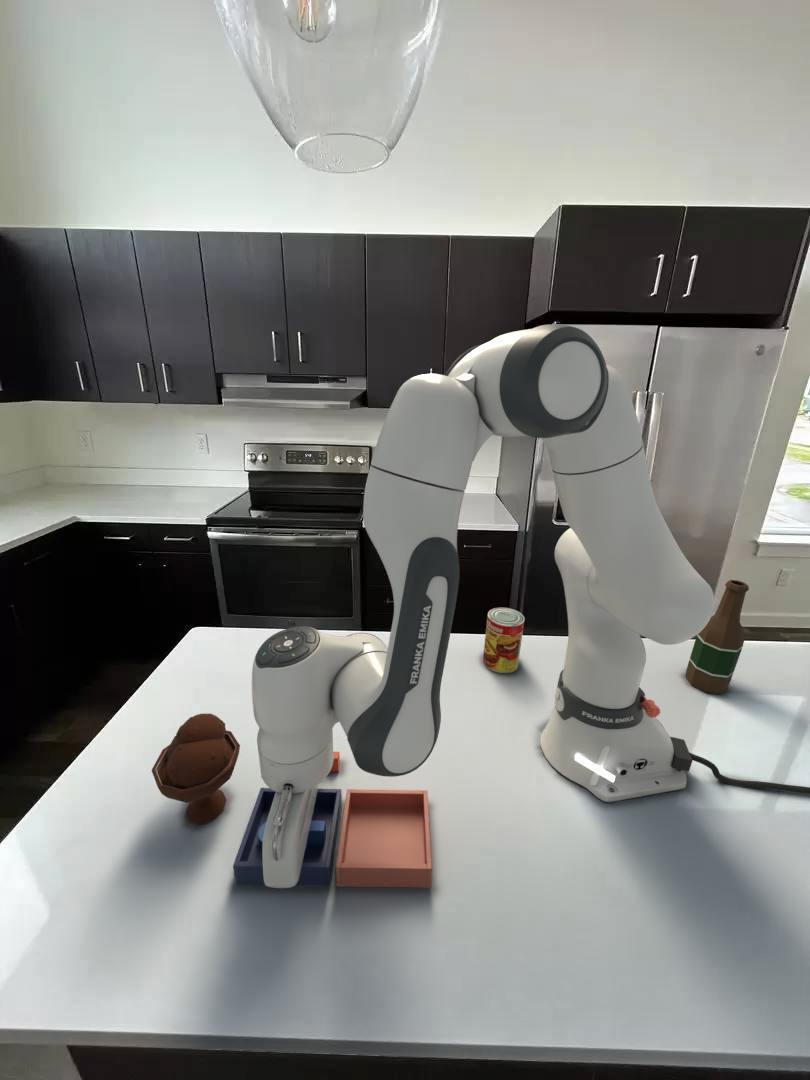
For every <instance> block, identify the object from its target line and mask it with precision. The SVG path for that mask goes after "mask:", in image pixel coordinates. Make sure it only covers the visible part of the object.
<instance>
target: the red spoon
mask: <svg viewBox="0 0 810 1080" xmlns="http://www.w3.org/2000/svg"><path fill="white" fill-rule="evenodd" d="M340 754H341V753H340V751H333V755H334V760H333V765H332V768H331V770H330V772H331V773H332V772H337V773H338V772H340V766H341V759H340Z"/></svg>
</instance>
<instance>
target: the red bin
mask: <svg viewBox="0 0 810 1080" xmlns="http://www.w3.org/2000/svg"><path fill="white" fill-rule="evenodd" d="M429 812H430V811H429V795H428V790H423V789H422V790H419V789H418V790H417V789H416V790H415V789H412V790H411V789H410V790H409V789H357V788H356V789H355V788H354V789H353V788H351V789H350V788H348V789H346V793H345V800H344V807H343V815H342V822H341V830H340V835H339V836H340V837H339V842H338V843H339V844H338V850H337V857H336V865H335V872H336V873H335V877H336V887H353V888H354V887H355V888H357V887H359V888H427V889H429V888H431V886H432V871H433V866H432V865H433V864H432V846H431V831H430V814H429Z"/></svg>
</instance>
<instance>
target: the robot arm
mask: <svg viewBox="0 0 810 1080" xmlns="http://www.w3.org/2000/svg"><path fill="white" fill-rule="evenodd" d="M492 436H496V437H500V438H501V437H502V438H516V437H530V438H535V439H536V438H537V439H541V441H542V442H543V444H544V446H545V452H546V457H547V460H548V464H549V468H550V471H551V475H552V479H553V482H554V487H555V489H556V493H557V497H558V500H559V505H560V507H561V511H562V515H563V517H564V520H565V521H566V523H567V525H568V526H569V528H568V529H567V530H565V531H564V532H563V533H562V535H561V536H559V539H558V541H557V543H556V545H555V548H554V561H555V564H556V566H557V569H558V571H559V573H560V577H561V579H562V584H563V590H564V597H565V604H566V605H565V606H566V615H567V626H568V627H567V628H568V629H567V630H568V635H567V636H568V637H567V644H566V650H565V658H564V663H563V669H561V671H560V674H559V675H558V676H559V677H558V681H557V686H556V689H555V694H554V707H553V709H552V713H551V716H550V718H549V721H548V722H547V724H546V726H545V727H544V729H543V730H542V732H541V734H540V743H539V744H540V748H541V751H542V754H543V755H544V757H545V758H546V760H547V762H548V763H549V764H550V765H551V767H553V768H554V769H555V770H556V771H557V772H559V774H561V775H563V776H564V777H565V778H567V779H568V780H570V781H572V782H573V783H576V784H578V785H580V786H582V787H584V788H586V790H587V791H589V792H591V793H592V794H593V795H594V796H595V797H596V798H598V799H600V800H601V801H602V802H605V803H612V802H619V801H624V800H629V799H634V798H639V797H646V796H651V795H657V794H662V793H668V792H672V791H673V792H674V791H677V790H683V789H686V786H687V773H686V772H690V770H691V767H692V765H693V762H696V763H699V764H701V765H703V766H705V767H707V768H709V769H710V770H711V772H712V775H713V777H714V778H715V779H716V780H718V781H720V782H722V783H723V784H727V785H731V786H735V787H742V788H750V789H751V788H752V789H765V790H773V791H780V792H781V791H782V792H788V793H791V792H792V793H799V794H807V795H810V787H809V786H801V785H791V784H784V783H778V782H777V783H776V782H768V781H757V780H743V779H742V780H741V779H734V778H731V777H727V776H725V775H723V774H721V773H720V770H719V769H718V767H717V766H716V764H714V763H713V762H712V761H710V760H708V759H707V758H704V757H702V756H699V755H697V754H694V753H692V752H690V751H689V748H688V746H687V743H686V741H685V739H682V738H678V737H674V736H670V735H669V732H668V731H667V730H666V727H665V726H664V725H663V723H662V722H661V721H660V720H659V719H658V718H657V717H658V716H660V714H661V709H660V708H659V706H658V705H657V704H656V703H655V701H654V700H653V699H647V697H646V693H645V692H644V690H643V689H642V688H641V687H640V685H641V681H642V678H643V677H642V676H643V673H644V670H645V666H646V662H647V651H646V646H645V644H644V641H643V638H642V637H644V638H646V639H648V640H650V641H653V642H655V643H656V644H657V643H658V644H659V645H664V646H672V645H679V644H681V643H684V642H686V641H689V640H691V639H693V638H695V637H696V636H697V634H699V633H700V632H701V631H702V630H703V629H704V628H705V626H706V625H707V624H708V622H709V620H710V618H711V617H712V616H713V613H714V609H715V608H714V607H715V594H714V591H713V588H712V587H711V585H710V584H709V583H708V582H707V581H706V580H705V579H704V578H703V577H702V575H700V573H698V571H697V570H696V569H695V568H694V566H692V564H691V563H690V561H689V560H688V559H687V557H686V556H685V554H684V552H682V550H681V548H680V545H678V542H677V541H676V539H675V537H674V536H673V533H672V531H671V529H670V528H669V526H668V524H667V522H666V520H665V518H664V516H663V515H662V513H661V510H660V508H659V506H658V502H657V500H656V497H655V494H654V491H653V487H652V481H651V476H650V471H649V466H648V462H647V457H646V456H647V455H646V451H645V446H644V441H643V436H642V431H641V426H640V423H639V419H638V415H637V412H636V409H635V406H634V403H633V400H632V397H631V395H630V393H629V390H628V387H627V384H626V383H625V380H624V379H623V376H622V375H621V373H620V372H619V371H618V370H617V369H616V368H615V367H613V366H611V365H609V364H607V362H606V360H605V356H604V354H603V353H602V350H601V349H600V347H599V345H598V344H597V342H596V341H595V340H594V338H593V337H591V335H589V334H588V333H587V332H585V330H583V329H581V328H578V327H575V326H572V325H568V324H559V323H558V324H557V323H556V324H555V323H553V324H550V323H549V324H543V325H538V326H536V327H533V328H528V329H521V330H516V331H515V330H514V331H510V332H507V333H504V334H500V335H498V336H496V337H494V338H493V339H491V340H490V341H487V342H485V343H483V344H477V345H475V346H473V347H471V348H469V349H467V350H466V351H464V352H463V353H462V354H460V355H459V356H458V357H457V359H455V361H453V363H452V364H451V365H450V366H449V368H448V369H447V370H446V371H445V372H444V373H443V374H439V373H425V374H419V375H415V376H413V377H410V378H409V379H407V380H406V381H404V383H402V384H401V386H400V387H399V389H398V390H397V392H396V394H395V396H394V398H393V401H392V402H391V404H390V406H389V409H388V412H387V414H386V416H385V419H384V422H383V424H382V427H381V429H380V432H379V435H378V438H377V441H376V444H375V447H374V451H373V454H372V458H371V462H370V466H369V471H368V474H367V478H366V482H365V488H364V494H363V509H362V520H363V522H362V523H363V525H364V528H365V531H366V533H367V536H368V537H369V539H370V541H371V543H372V544H373V547H374V548H375V550H376V552H377V554H378V556H379V558H380V560H381V562H382V564H383V566H384V569H385V571H386V574H387V578H388V580H389V583H390V586H391V591H392V599H393V616H392V623H391V628H390V634H389V638H388V644H387V645H386V644H385V643H384V642H383V640H382V639H381V638H379V637H378V636H376V635H374V634H371V633H367V632H356V633H351V634H347V635H334V634H333V635H332V634H328V633H327V634H326V633H324V632H321V631H319V630H318V629H316V628H314V627H311V626H304V625H303V626H302V625H301V626H300V625H299V626H293V627H288V628H285V629H282V630H279V631H278V632H276V633H273V634H272V635H271V636H269V637H268V638H267V639H265V641H263V643H262V644H261V645H260V646H259V648H258V650H257V651H256V654H255V656H254V659H253V663H252V669H251V702H252V711H253V718H254V720H255V722H256V725H257V726H258V731H257V734H256V735H257V736H256V744H257V752H258V753H257V754H258V760H259V761H258V763H259V767H260V768H259V769H260V776H261V779H262V781H263V783H264V784H265V785H266V787H267V788H270V789H272V790H274V791H276V793H275V796H274V799H273V802H272V806H271V809H270V812H269V815H268V818H267V822H266V825H265V830H264V835H263V845H262V858H263V877H264V883H265V885H264V886H266V887H268V888H273V889H291V888H294V887H295V885H296V884H297V882H298V880H299V876H300V871H301V866H302V862H303V857H304V852H305V849H306V845H307V840H308V833H309V829H310V824H311V821H312V817H313V812H314V811H313V810H314V805H315V801H316V796H317V791H318V789H319V787H320V784H321V783H323V781H324V780H325V779H326V778H327V777H328V776H329V774H330V772H331V771H330V770H331V768H332V765H333V760H334V755H333V752H334V736H333V735H334V732H333V730H334V729H333V728H334V726H335V725H336V724H337V723H339V724H340V725H341V728H342V730H343V731H344V733H345V736H346V738H347V739H346V740H347V742H348V745H349V748H350V751H351V753H352V756H353V759H354V761H355V764H356V766H357V767H358V768H359V769H360V770H361V771H363V772H365V773H368V774H372V775H375V776H380V777H386V778H387V777H389V778H391V777H394V778H395V777H402V776H405V775H409V774H411V773H412V772H415V771H416V770H417V769H418V768H420V767H421V766H422V765H423V764H424V763H425V762H426V761H427V760H428V758H429V757H430V756H431V754H432V752H433V750H434V748H435V746H436V743H437V740H438V737H439V734H440V730H441V721H442V709H441V686H442V681H443V675H444V671H445V665H446V664H445V663H446V659H447V654H448V649H449V643H450V637H451V633H452V632H451V631H452V627H453V622H454V616H455V610H456V604H457V599H458V592H459V585H460V561H459V560H460V559H459V554H458V529H459V520H460V514H461V508H462V504H463V501H464V495H465V491H466V489H467V486H468V482H469V478H470V474H471V470H472V466H473V462H474V461H475V459H476V457H477V455H478V453H479V452H480V449H481V448H482V447H483V445H484V444H485V443H486V441H488V440H489V439H490V438H491V437H492Z"/></svg>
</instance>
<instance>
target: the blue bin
mask: <svg viewBox="0 0 810 1080" xmlns="http://www.w3.org/2000/svg"><path fill="white" fill-rule="evenodd" d="M275 793H276V791H274V790H272V789H270V788H269V787H260V788H259V791H258V795H257V797H256V799H255V803H254V805H253V808H252V811H251V814H250V816H249V819H248V822H247V825H246V828H245V830H244V834H243V837H242V839H241V842H240V845H239V848H238V851H237V854H236V857H235V859H234V862H233V865H232V869H233V875H234V882H235V885H236V886H266V885H265V883H264V877H263V858H262V848H261V847H260V845H259V839H258V832H259V829H260V827H261V826H262V825H263V824H264V823H265V822H267V818H268V815H269V812H270V809H271V806H272V802H273V799H274V796H275ZM342 794H343V793H342V788H318V791H317V796H316V801H315V805H314V810H313V811H314V812H313V817H312V821H325V824H326V839H325V844H324V845H306V849H305V852H304V857H303V862H302V866H301V871H300V876H299V880H298V882H297V884H296V885H295V886H296V887H331V884H332V878H333V871H334V866H335V865H334V863H335V858H336V850H337V843H338V837H339V830H340V823H341V816H342V809H343V797H342ZM295 886H294V887H295Z"/></svg>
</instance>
